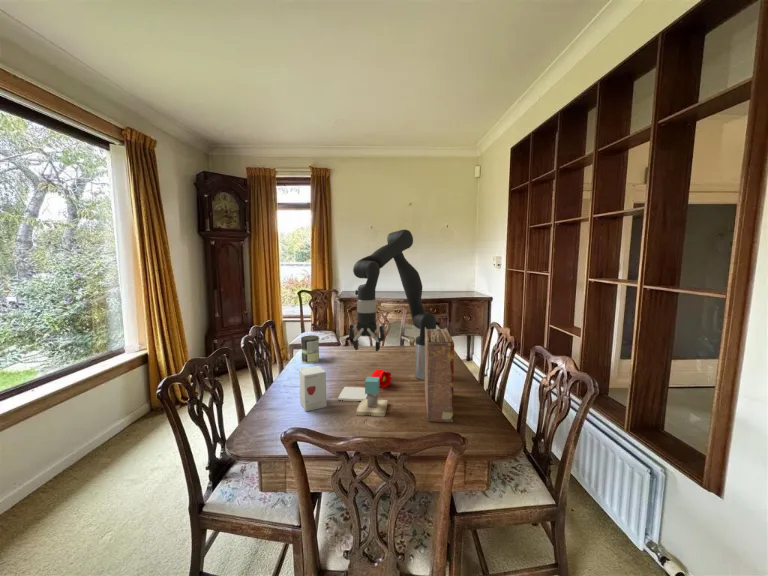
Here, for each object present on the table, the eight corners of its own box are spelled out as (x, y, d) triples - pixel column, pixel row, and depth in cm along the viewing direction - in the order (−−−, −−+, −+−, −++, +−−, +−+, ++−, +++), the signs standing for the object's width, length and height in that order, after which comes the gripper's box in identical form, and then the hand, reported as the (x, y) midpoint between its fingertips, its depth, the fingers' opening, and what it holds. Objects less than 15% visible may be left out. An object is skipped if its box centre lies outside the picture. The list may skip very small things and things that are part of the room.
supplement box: (304, 412, 125) (303, 375, 123) (299, 403, 133) (298, 368, 131) (327, 407, 129) (326, 371, 127) (321, 398, 137) (320, 364, 135)
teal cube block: (379, 389, 128) (379, 377, 128) (377, 394, 123) (377, 382, 123) (367, 388, 129) (367, 376, 128) (365, 393, 124) (364, 381, 123)
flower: (382, 369, 157) (393, 373, 151) (378, 385, 155) (389, 389, 149) (371, 366, 152) (382, 370, 146) (366, 382, 150) (378, 387, 144)
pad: (370, 390, 145) (370, 387, 145) (365, 401, 133) (365, 399, 133) (344, 388, 146) (344, 386, 146) (337, 400, 135) (337, 398, 134)
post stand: (387, 403, 132) (387, 376, 130) (384, 416, 121) (384, 387, 120) (361, 402, 133) (361, 375, 132) (356, 415, 122) (355, 386, 121)
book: (424, 392, 142) (424, 327, 139) (445, 393, 141) (446, 327, 138) (427, 422, 116) (428, 342, 114) (453, 422, 116) (454, 342, 113)
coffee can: (298, 363, 183) (298, 339, 182) (305, 357, 193) (304, 335, 192) (315, 363, 182) (315, 339, 180) (321, 358, 192) (321, 335, 191)
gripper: (386, 309, 129) (385, 348, 130) (352, 308, 132) (352, 346, 133) (381, 312, 121) (381, 354, 123) (346, 311, 125) (347, 351, 126)
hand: (366, 350), depth 128 cm, fingers open, 8 cm apart
